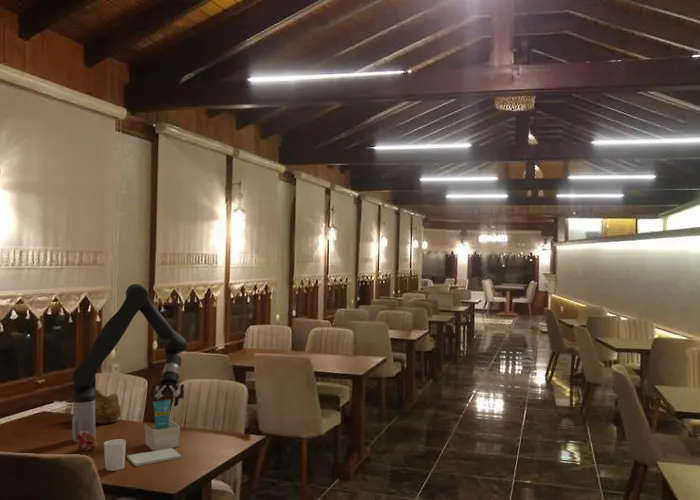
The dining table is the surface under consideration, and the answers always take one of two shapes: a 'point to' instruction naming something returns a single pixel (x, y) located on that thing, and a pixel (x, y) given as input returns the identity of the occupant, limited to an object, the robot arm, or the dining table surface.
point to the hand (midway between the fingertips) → (165, 406)
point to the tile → (153, 456)
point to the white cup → (114, 454)
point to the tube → (161, 414)
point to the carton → (163, 437)
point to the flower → (86, 440)
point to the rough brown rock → (106, 408)
